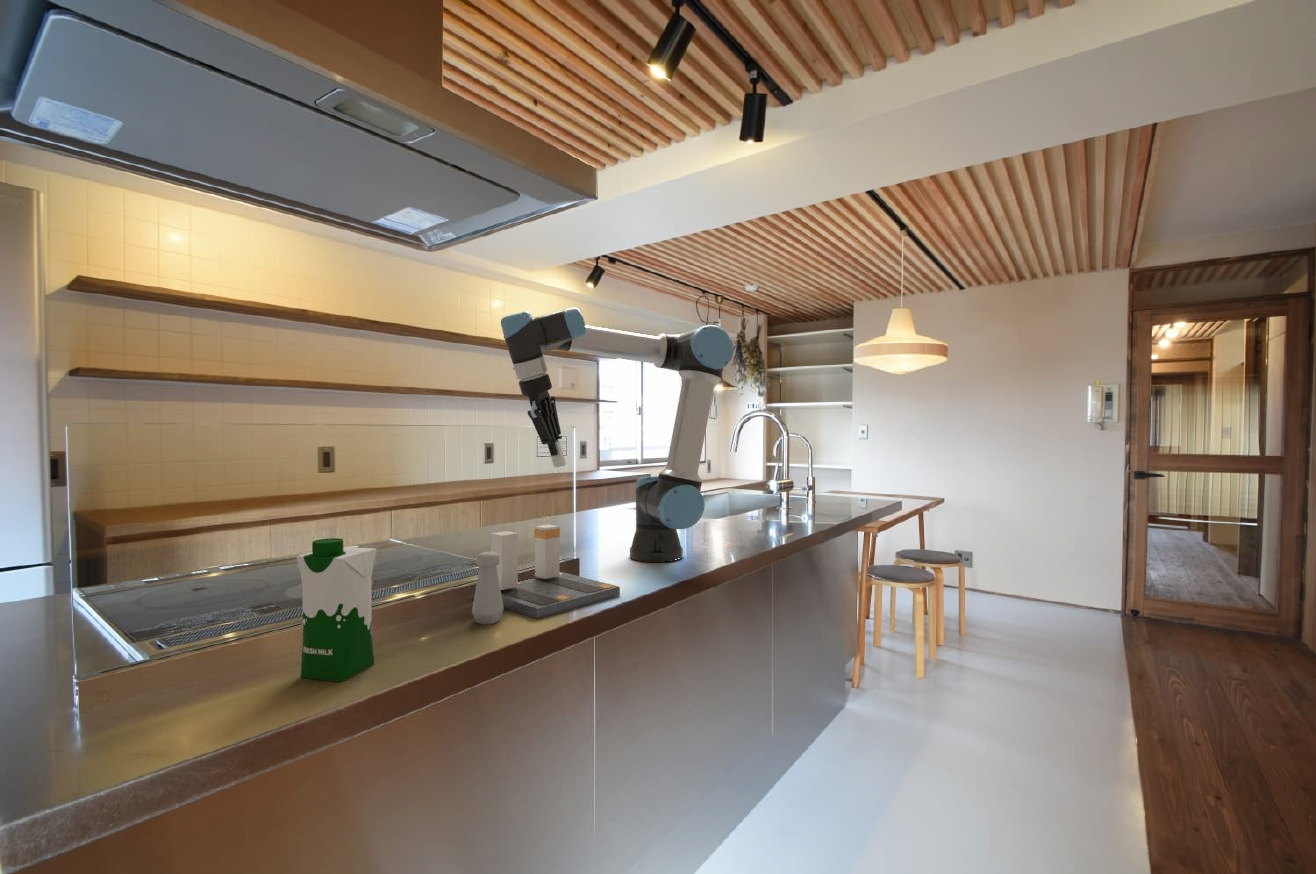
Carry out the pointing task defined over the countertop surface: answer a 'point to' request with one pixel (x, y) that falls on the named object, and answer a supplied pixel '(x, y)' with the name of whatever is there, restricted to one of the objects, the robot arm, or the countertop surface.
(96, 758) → the countertop surface
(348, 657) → the milk carton
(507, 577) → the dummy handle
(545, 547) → the handle
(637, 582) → the countertop surface
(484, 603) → the salt shaker
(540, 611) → the panel
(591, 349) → the robot arm
